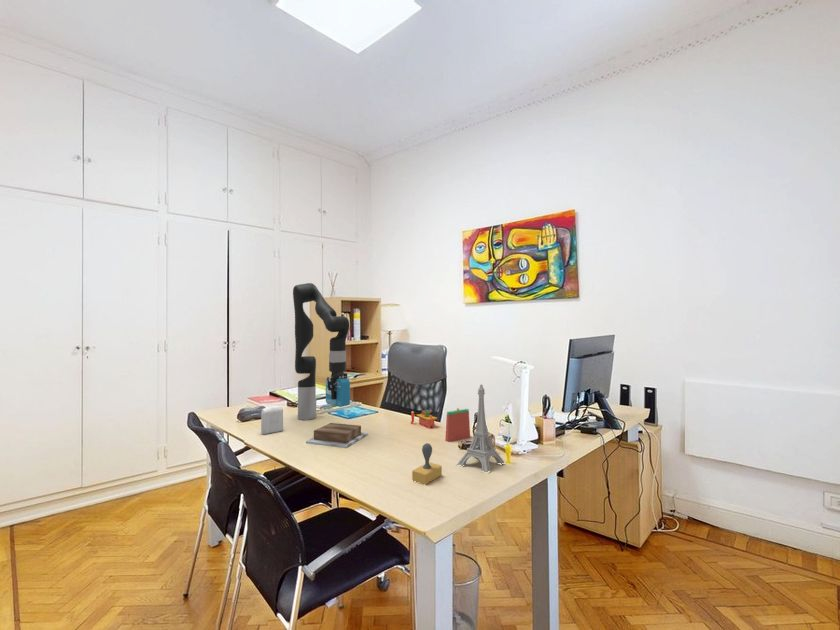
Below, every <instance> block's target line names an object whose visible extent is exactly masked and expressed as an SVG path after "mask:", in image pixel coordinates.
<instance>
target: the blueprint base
mask: <svg viewBox="0 0 840 630" xmlns="http://www.w3.org/2000/svg"><path fill="white" fill-rule="evenodd" d="M368 435H369V433H368V432H362V426H361V425H357V424H356V425H355V424H346V423H336V422H329V423H327V424H325V425H323V426H320V427H318V428H317V429H314V430H313V437H312V438H310V439H308V440H305V444H311V445H319V446H327V447H335V448H345V449H348V448H349V447H351V446H352V445H354V444H355V443H357V442H358V441H360V440H362V439H364V438H365V437H367V436H368Z"/></svg>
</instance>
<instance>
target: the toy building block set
mask: <svg viewBox="0 0 840 630" xmlns="http://www.w3.org/2000/svg"><path fill="white" fill-rule="evenodd" d="M431 413H432V410H430V409H424V410H421V413H420V414H415V411H413V410H412V411H411V415H410V416H411V417H410V418H411V421H410V425H414V422H415V416H417V417H418V425H421V426H423V427H425V428H428V429H431V428H435V421H436V420H437V419H438V417H436V416H434V415H432V414H431ZM445 421H446V423H445V424H446V425H445V442H448V443H449V442H454V441H459V440H464V439H469V438H471V426H470V425H471V424H470V409H468V408H465V409H464V408H463V409H460V408H459V407H457V408H456V410H451V411H446V419H445Z"/></svg>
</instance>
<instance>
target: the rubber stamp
mask: <svg viewBox="0 0 840 630" xmlns="http://www.w3.org/2000/svg"><path fill="white" fill-rule="evenodd" d="M421 452H422V455H423V458H424V461H425V462H424V464H422V465H420V466H418V467H416V468H414V469H413V470H412V471H411V473H412V474H411V475H412V476H411V477H412V479H411V480H413V481H412V482H414V481H416V482H415V483H417V482H420V483H423V484H422V485H424V484H426V485H427V483H428V484H429V483H431V482H433V481H434V480H437V478H440V477H442V474H443V472H442V469H443V468H442V464H437V463H433V462H430V459H431V456H432V453H433V447H432V445H431V444H430V443H428V442H427V443H424V444H423V445H422V448H421ZM439 476H440V477H439ZM432 480H433V481H432ZM430 481H431V482H430ZM420 483H419V484H420Z"/></svg>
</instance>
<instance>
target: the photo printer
mask: <svg viewBox="0 0 840 630" xmlns="http://www.w3.org/2000/svg"><path fill="white" fill-rule="evenodd" d="M260 414H261V416H260V417H261V418H260V419H261V420H260V422H261V423H260V426H261V427H260V432H261V435H267V434H272V433H277V432H282V431H284V408H283V406H280V405H270V406H266V407H263V408H262V409H261V412H260Z"/></svg>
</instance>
